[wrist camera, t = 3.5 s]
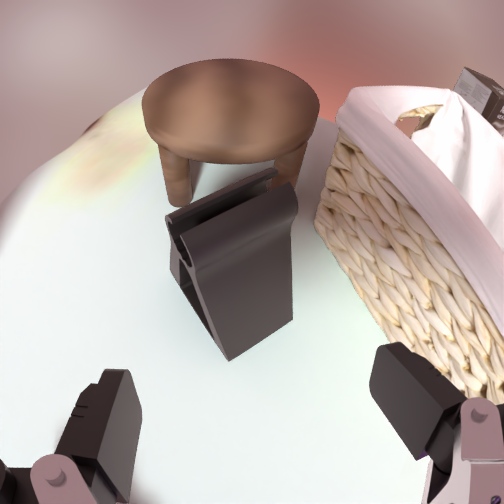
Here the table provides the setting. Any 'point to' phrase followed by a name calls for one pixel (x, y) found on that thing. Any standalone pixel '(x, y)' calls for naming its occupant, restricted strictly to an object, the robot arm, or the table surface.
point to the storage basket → (423, 227)
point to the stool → (228, 119)
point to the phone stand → (237, 260)
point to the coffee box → (482, 97)
